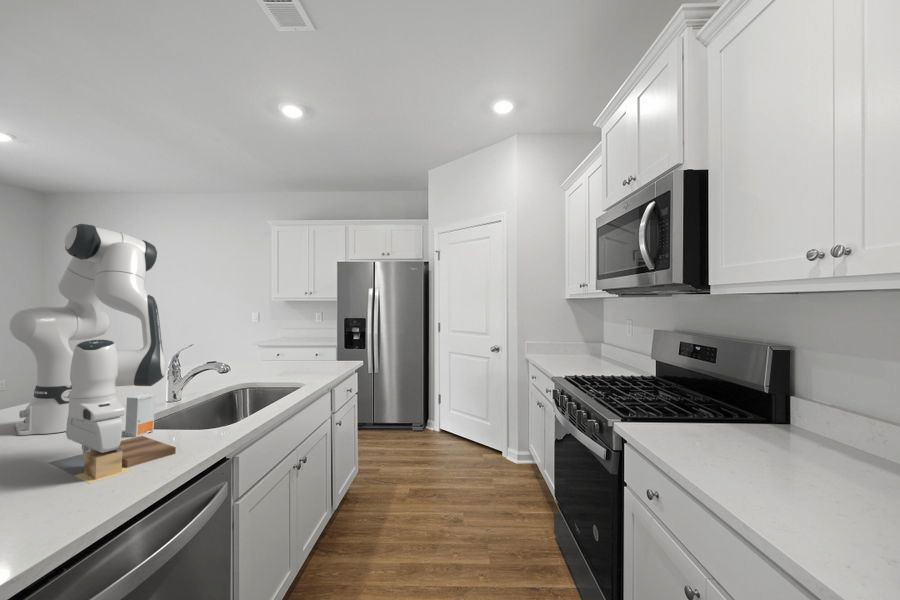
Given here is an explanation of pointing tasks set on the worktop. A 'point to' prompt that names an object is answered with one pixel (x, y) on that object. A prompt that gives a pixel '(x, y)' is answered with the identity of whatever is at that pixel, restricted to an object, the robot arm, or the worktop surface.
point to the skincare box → (140, 414)
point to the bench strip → (79, 468)
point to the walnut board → (143, 450)
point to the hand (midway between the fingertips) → (91, 462)
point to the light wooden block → (103, 463)
